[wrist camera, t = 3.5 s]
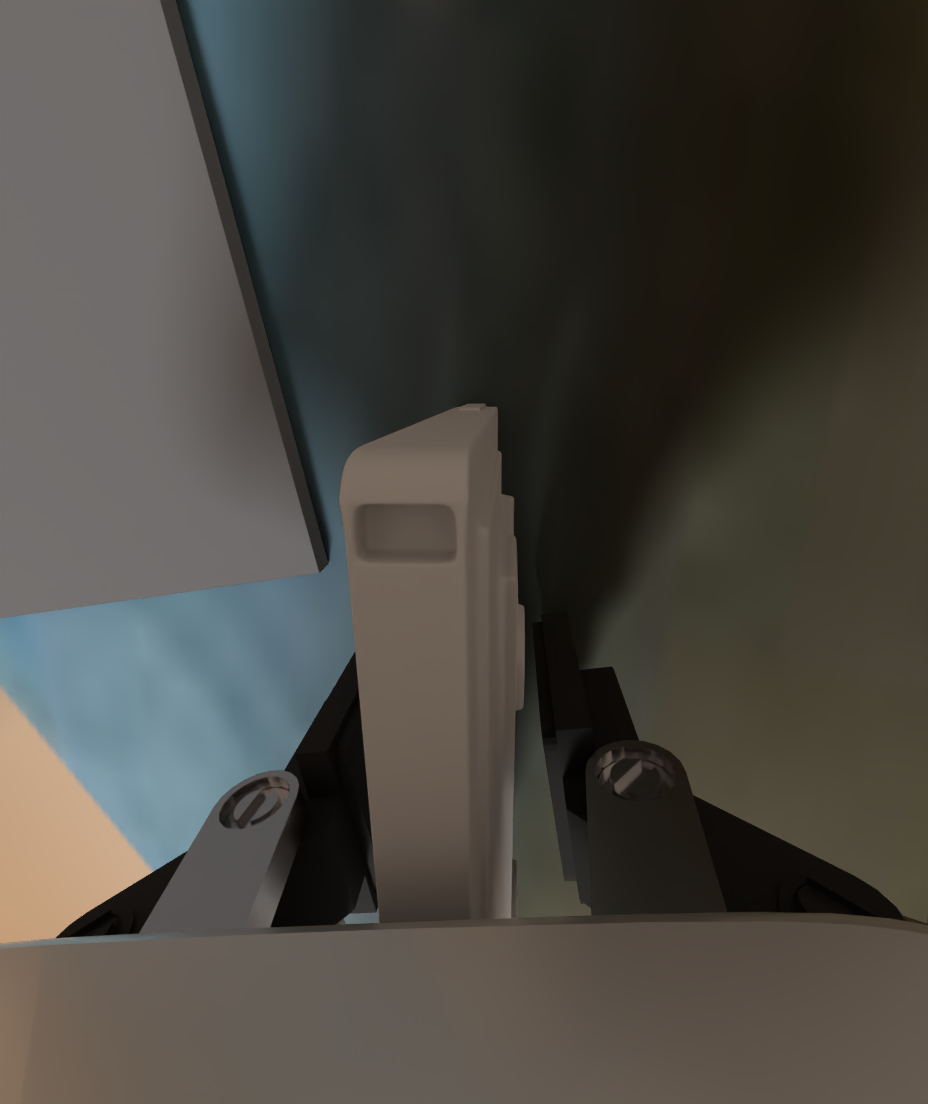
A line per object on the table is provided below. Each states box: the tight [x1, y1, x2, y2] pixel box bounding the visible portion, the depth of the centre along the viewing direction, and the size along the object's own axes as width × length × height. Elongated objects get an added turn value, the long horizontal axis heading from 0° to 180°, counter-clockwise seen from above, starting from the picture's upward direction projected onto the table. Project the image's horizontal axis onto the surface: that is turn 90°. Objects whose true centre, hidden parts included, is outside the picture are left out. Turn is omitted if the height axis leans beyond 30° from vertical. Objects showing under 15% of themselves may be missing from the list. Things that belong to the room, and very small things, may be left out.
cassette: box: [339, 404, 525, 923], centre depth 9 cm, size 12×2×8 cm, turn 1°
